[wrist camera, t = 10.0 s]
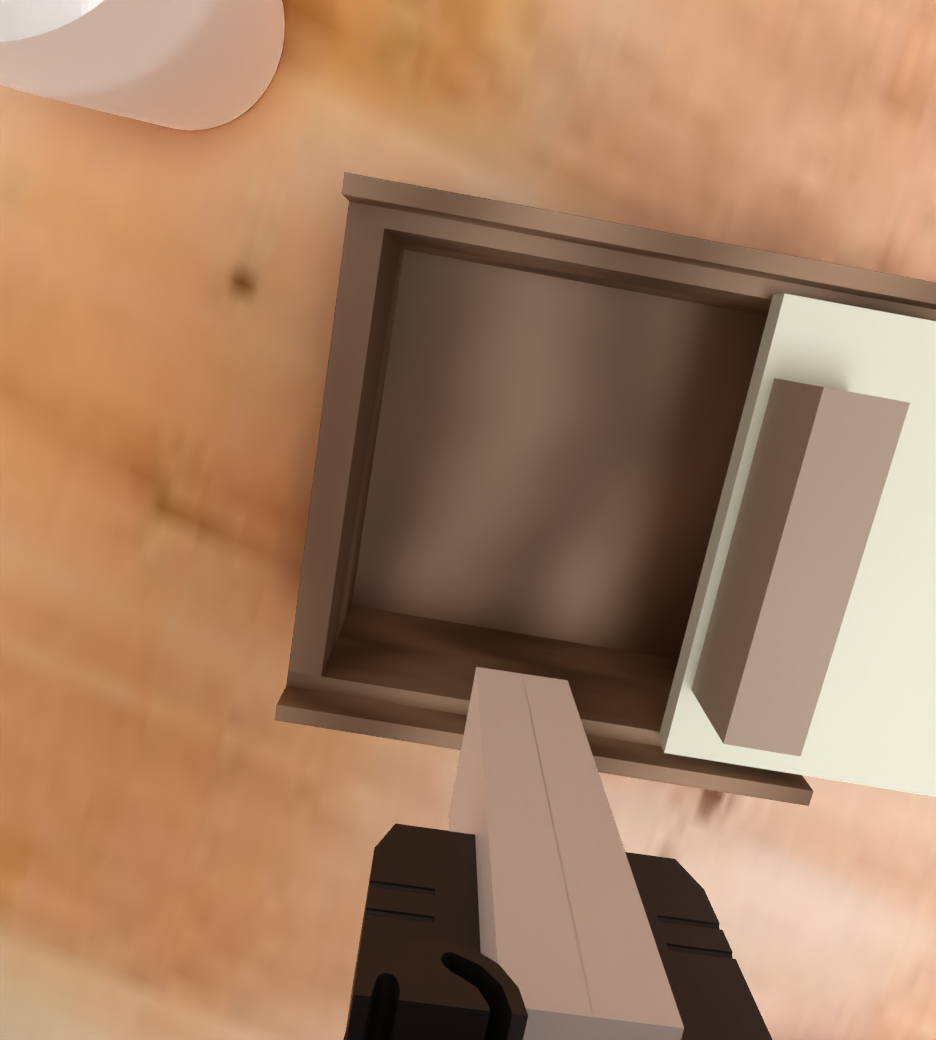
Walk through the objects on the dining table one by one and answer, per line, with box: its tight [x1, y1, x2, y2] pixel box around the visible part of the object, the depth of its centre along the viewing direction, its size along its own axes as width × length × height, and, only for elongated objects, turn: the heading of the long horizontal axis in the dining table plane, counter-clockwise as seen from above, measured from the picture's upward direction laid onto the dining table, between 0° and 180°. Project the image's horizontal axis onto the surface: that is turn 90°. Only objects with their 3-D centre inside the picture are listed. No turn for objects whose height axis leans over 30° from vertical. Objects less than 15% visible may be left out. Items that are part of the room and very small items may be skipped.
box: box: [275, 172, 936, 806], centre depth 25 cm, size 16×15×8 cm
